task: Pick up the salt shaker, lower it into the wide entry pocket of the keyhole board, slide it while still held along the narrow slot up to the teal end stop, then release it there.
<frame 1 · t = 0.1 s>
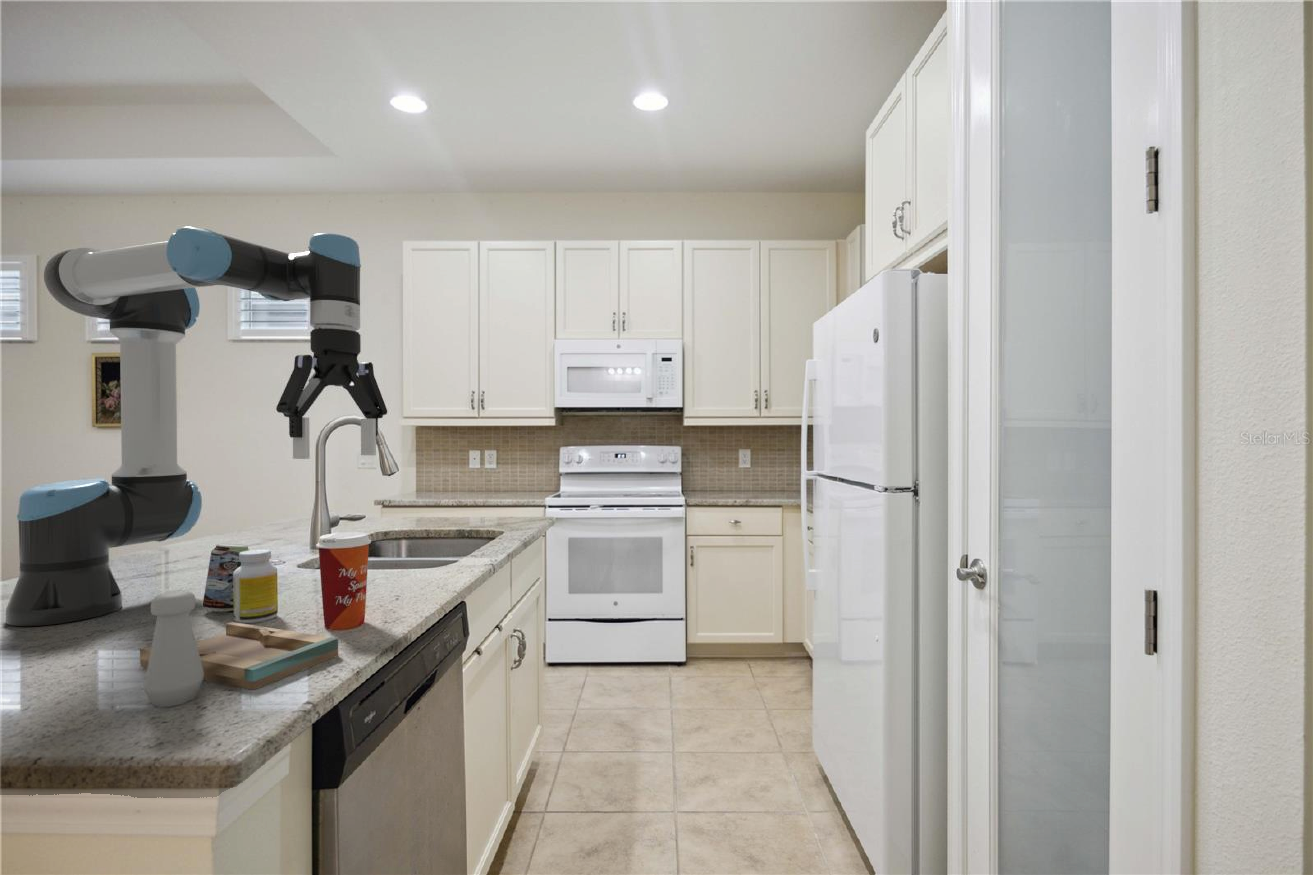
hand: (336, 457, 108), 28 cm above the counter, fingers open, 13 cm apart
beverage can: (227, 611, 116), on the counter
keyhole board: (241, 661, 91), on the counter
pill bottle: (256, 620, 111), on the counter
salt shaker: (175, 701, 78), on the counter
coffee cup: (345, 625, 108), on the counter
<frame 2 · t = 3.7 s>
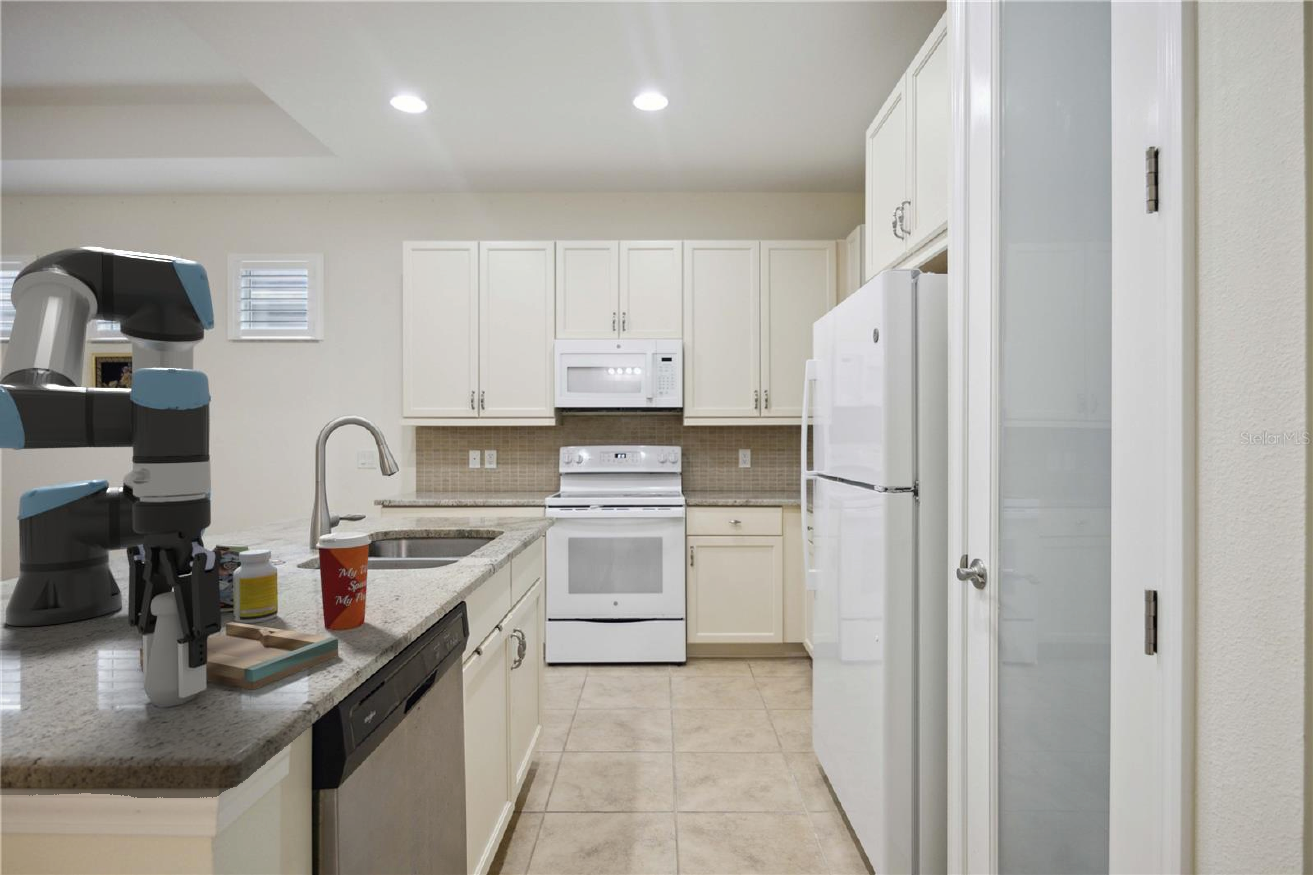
hand: (174, 688, 78), 1 cm above the counter, fingers closed on salt shaker, 6 cm apart
salt shaker: (175, 701, 78), on the counter, touching gripper
everything else where it was.
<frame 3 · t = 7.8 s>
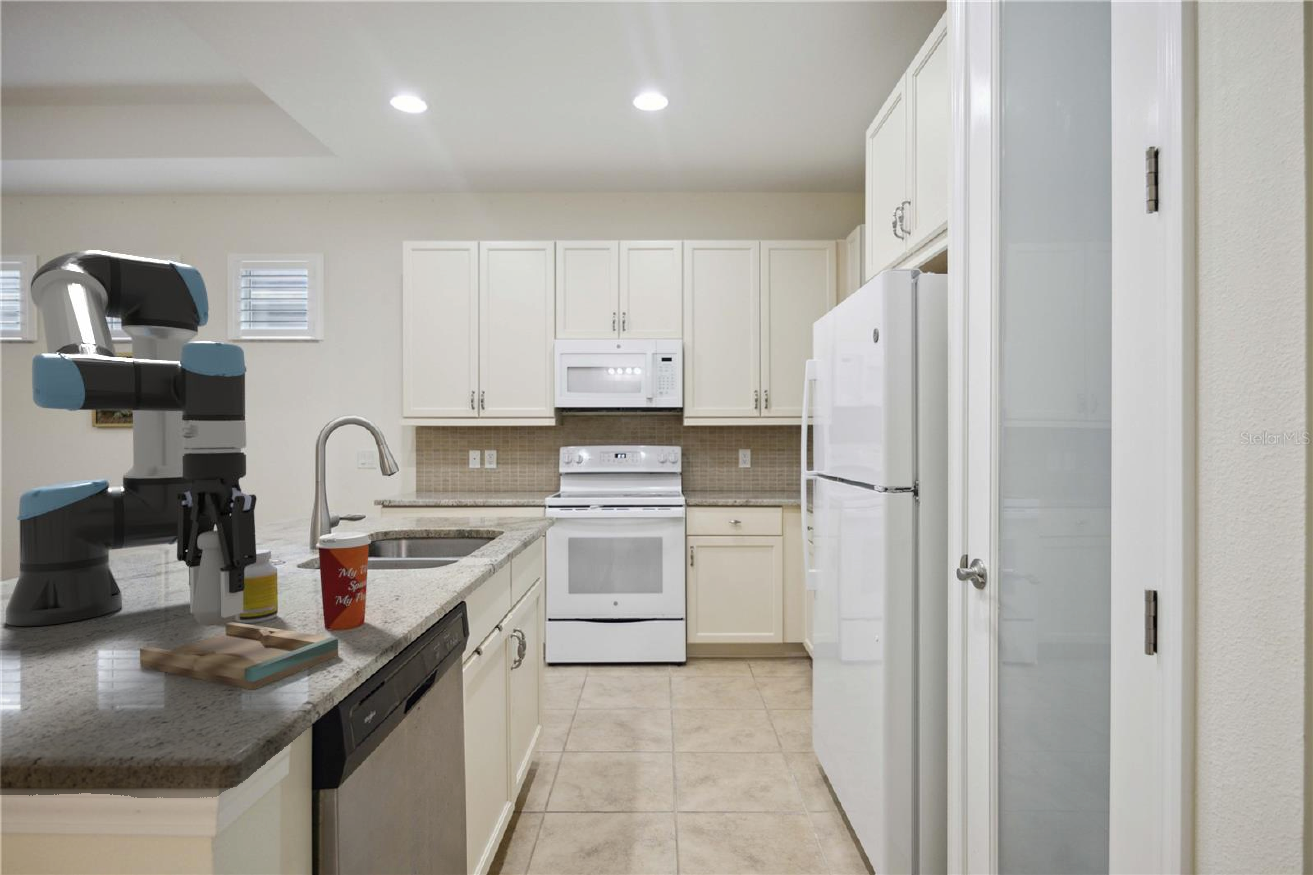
hand: (216, 612, 92), 6 cm above the counter, fingers closed on salt shaker, 6 cm apart
salt shaker: (217, 623, 92), point 5 cm above the counter, touching gripper
everything else where it was.
when the fingers open (3 cm above the counter, at t = 11.8 s): salt shaker stays where it is, resting on keyhole board.
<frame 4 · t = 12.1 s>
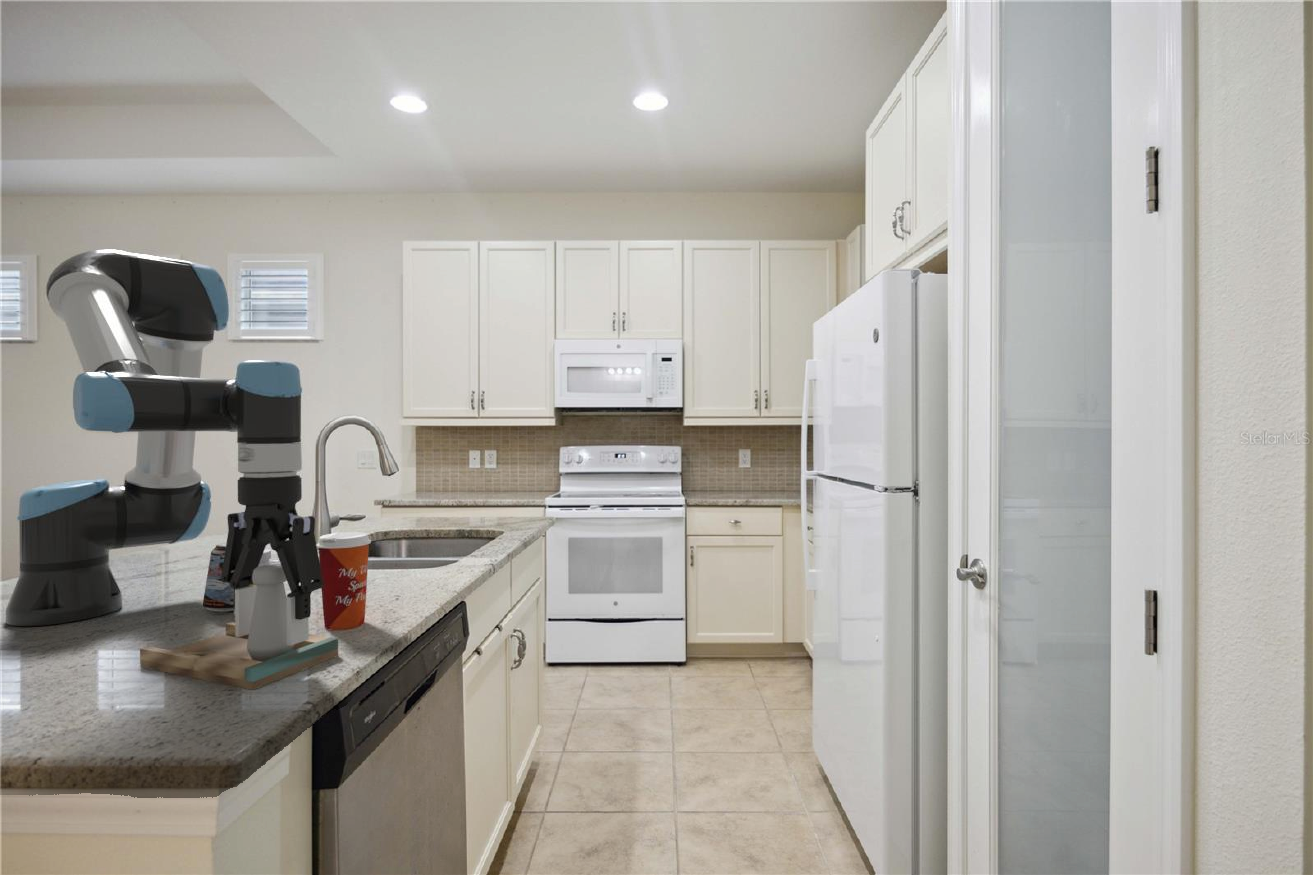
hand: (271, 637, 89), 4 cm above the counter, fingers open, 9 cm apart
salt shaker: (271, 660, 89), point 1 cm above the counter, touching keyhole board
everything else where it was.
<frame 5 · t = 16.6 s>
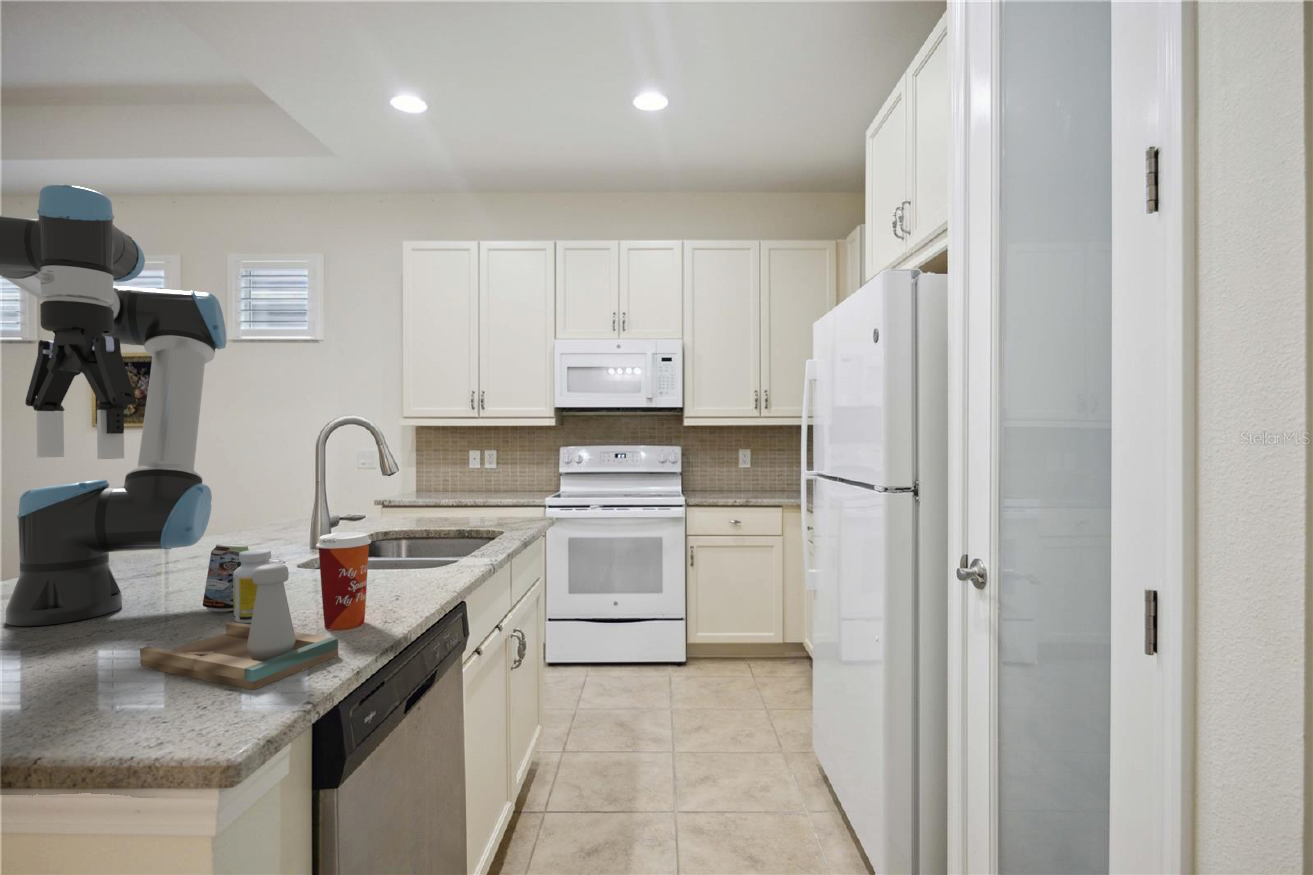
hand: (80, 458, 89), 29 cm above the counter, fingers open, 13 cm apart
nothing on the counter moved.
at the end: salt shaker 0.0 cm from the target spot on the keyhole board, point 0.8 cm above the keyhole board's base; salt shaker tilted 0°; the gripper is holding nothing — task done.
